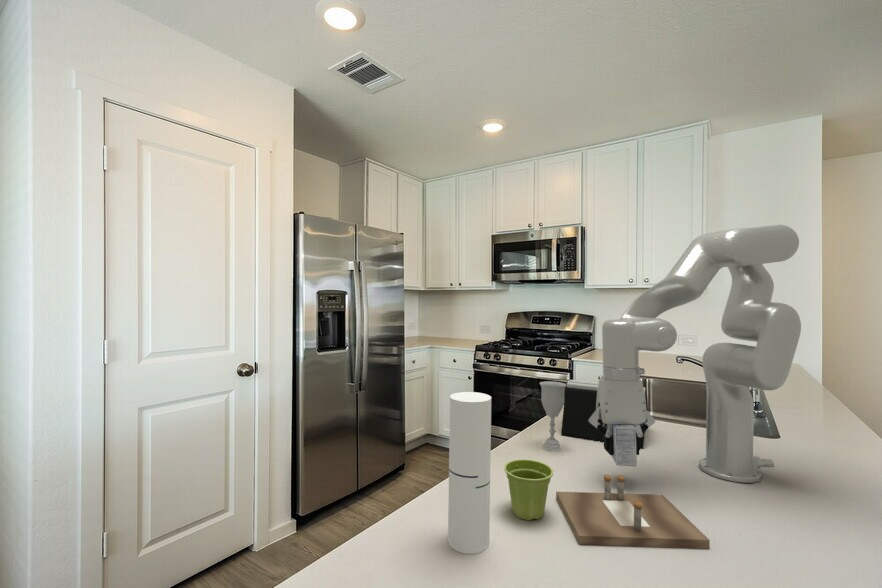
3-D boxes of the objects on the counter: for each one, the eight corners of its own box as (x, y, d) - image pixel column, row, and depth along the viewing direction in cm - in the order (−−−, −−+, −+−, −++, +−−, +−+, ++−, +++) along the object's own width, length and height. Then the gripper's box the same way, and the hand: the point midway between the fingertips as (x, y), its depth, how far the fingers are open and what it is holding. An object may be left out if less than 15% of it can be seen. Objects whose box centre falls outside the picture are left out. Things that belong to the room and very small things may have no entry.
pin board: (662, 501, 87) (662, 472, 87) (709, 548, 71) (709, 512, 71) (556, 498, 87) (556, 469, 87) (579, 544, 71) (579, 509, 71)
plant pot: (543, 531, 75) (544, 483, 75) (495, 516, 80) (496, 471, 80) (558, 509, 83) (559, 466, 83) (514, 496, 88) (515, 455, 88)
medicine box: (637, 467, 91) (636, 428, 91) (615, 466, 92) (615, 427, 92) (628, 453, 98) (627, 417, 98) (608, 452, 99) (607, 416, 99)
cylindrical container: (446, 529, 75) (448, 392, 75) (484, 528, 76) (486, 391, 76) (450, 554, 68) (452, 402, 68) (493, 553, 69) (495, 402, 69)
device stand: (574, 417, 147) (574, 375, 147) (645, 428, 136) (645, 382, 136) (561, 436, 127) (561, 387, 127) (643, 450, 116) (644, 397, 116)
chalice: (536, 450, 114) (537, 385, 114) (540, 442, 121) (541, 380, 121) (564, 454, 112) (565, 387, 112) (566, 446, 118) (567, 382, 118)
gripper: (650, 369, 98) (652, 446, 99) (578, 371, 99) (579, 447, 99) (666, 376, 91) (668, 459, 91) (588, 377, 91) (590, 460, 92)
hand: (622, 452), depth 95 cm, fingers closed on medicine box, 5 cm apart
